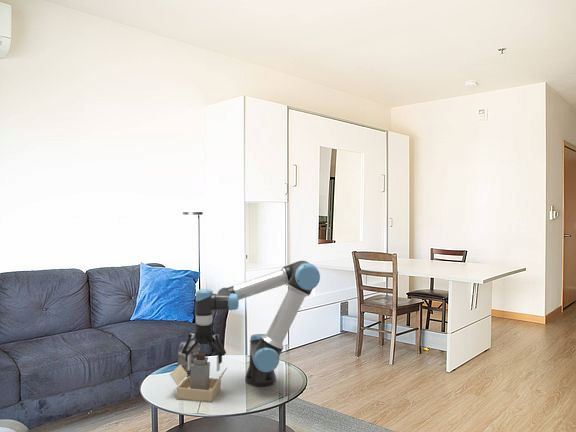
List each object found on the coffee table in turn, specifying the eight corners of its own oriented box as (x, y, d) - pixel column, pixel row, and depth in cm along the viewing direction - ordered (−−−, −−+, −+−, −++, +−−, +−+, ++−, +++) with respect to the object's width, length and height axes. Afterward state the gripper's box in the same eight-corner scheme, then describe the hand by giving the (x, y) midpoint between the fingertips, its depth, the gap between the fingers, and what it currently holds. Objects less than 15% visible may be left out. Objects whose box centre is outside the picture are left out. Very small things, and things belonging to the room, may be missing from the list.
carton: (220, 389, 222) (221, 379, 222) (211, 402, 208) (211, 391, 207) (187, 386, 224) (188, 376, 224) (176, 399, 210) (176, 387, 210)
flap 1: (180, 364, 224) (180, 364, 224) (170, 373, 211) (169, 374, 211) (187, 375, 223) (187, 375, 223) (177, 385, 210) (177, 385, 211)
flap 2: (220, 377, 221) (220, 378, 221) (212, 388, 208) (212, 388, 208) (226, 367, 221) (227, 367, 221) (219, 376, 208) (219, 377, 208)
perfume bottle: (204, 396, 212) (205, 356, 212) (189, 395, 213) (191, 355, 213) (208, 391, 219) (210, 352, 219) (194, 389, 220) (196, 351, 220)
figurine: (189, 374, 242) (191, 344, 241) (173, 369, 247) (174, 340, 247) (202, 368, 250) (204, 340, 250) (186, 364, 256) (187, 336, 256)
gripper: (232, 322, 220) (232, 368, 220) (180, 320, 222) (180, 365, 223) (228, 326, 212) (228, 373, 213) (174, 324, 215) (174, 371, 215)
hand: (203, 369), depth 218 cm, fingers open, 13 cm apart
